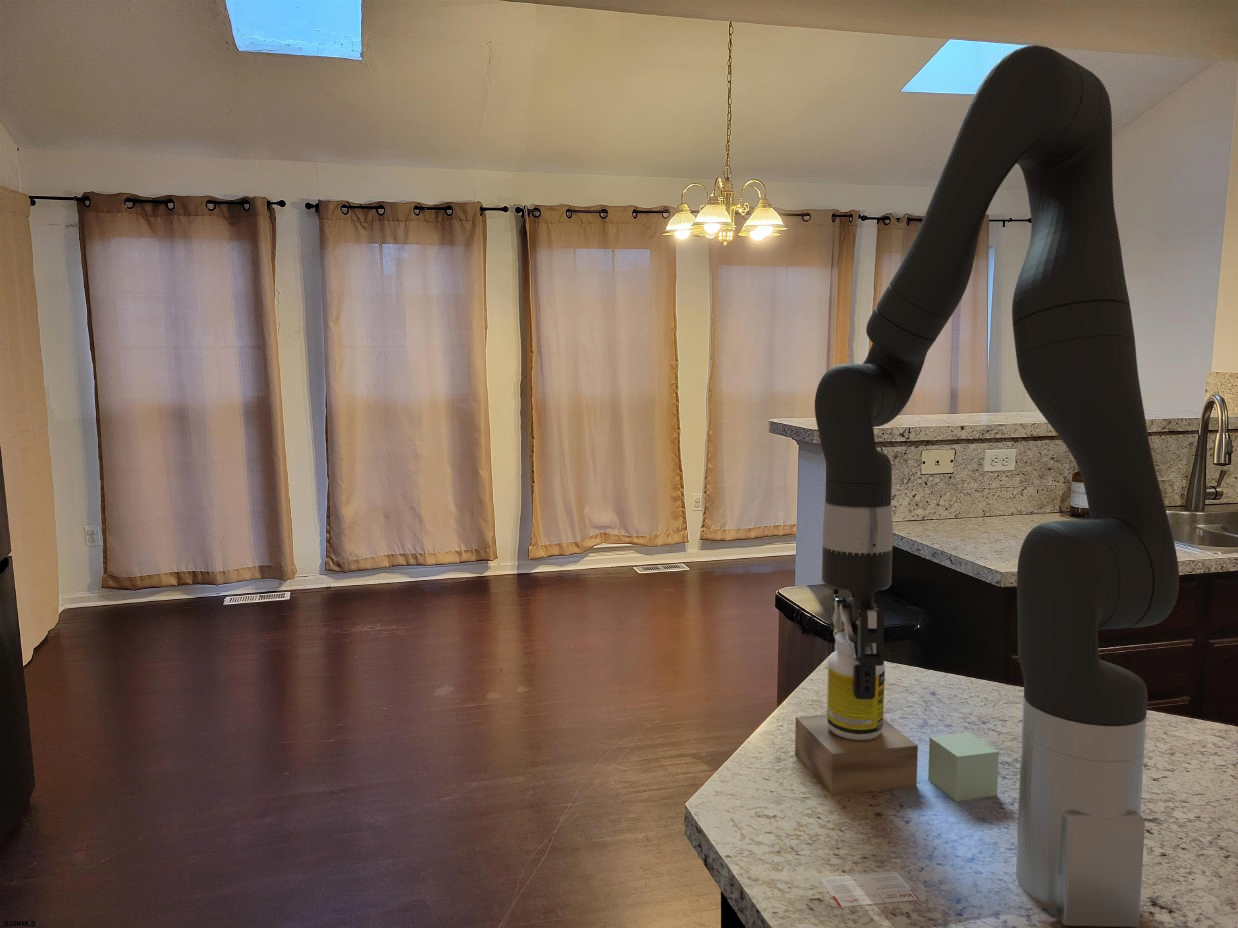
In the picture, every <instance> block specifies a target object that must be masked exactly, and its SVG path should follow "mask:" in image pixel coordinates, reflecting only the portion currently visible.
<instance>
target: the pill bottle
mask: <svg viewBox="0 0 1238 928" xmlns="http://www.w3.org/2000/svg"><path fill="white" fill-rule="evenodd" d="M834 640H835V642H834V643H835V650H834V652H832V653H831V654H830V656H829V657H828V661H827V689H826V690H827V692H826V693H827V694H826V697H827V698H826V714H827V725H828V727H829V729H830V730H831V731H832V732H833V733H834V734H836V735H838V736H840V737H843V738H847V739H851V740H869V739H873V738H875V737H877V736H878V735H879V734H880V733H881V732H882V729H883V718H884V710H885V709H884V708H885V707H884V705H885V704H884V703H885V701H884V700H885V680H886V678H885V676H886V673H885V672H886V667H885V666H886V665H885V662H884V663H883V666H876V680H875V697H874V698H873V699H857V698H856V697H855V696H854V694H853V671H854V662H853V654H852V648H851V646H849V645H847V643H846V637H845V631H842V632H839V633H838V634H837V635H836V639H835V638H834ZM865 654H870V648H869V646H867V645H865Z"/></svg>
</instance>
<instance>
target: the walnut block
mask: <svg viewBox="0 0 1238 928" xmlns="http://www.w3.org/2000/svg"><path fill="white" fill-rule="evenodd" d="M794 725H795V734H794V737H795V738H794V739H795V740H794V755H795V756H796V757H797V759H799V761H800V762H801V763H802V765H804V766H805V767H806V769H807V770H808V771H809V772H810V773H811V774H812V775H813V776H814V777H815V778H816V779H817V781H819V783H820V784H821V785H822V786H823V787H824V788H825V789H826V790H827V792H829V794H830V795H832V796H834V795H835V796H837V795H845V794H853V793H854V794H855V793H863V792H864V793H865V792H872V791H873V792H874V791H882V790H884V791H885V790H891V789H900V788H902V789H903V788H911V787H912V788H913V787H917V783H918V755H919V754H918V753H919V745H918V744H916V743H915V742H914V741H913V740H911V739H910V738H909V737H908V736H907V735H905V734H904V733H903V732H901V731H900V730H899V729H898V728H897V727H895V726H894V725H892V724H891V723H890V722H889V721H888V720H887V719H885V718H884V717H883V729H882V732H881V733H880V734H879V735H878V736H877V737H875V738H873V739H869V740H851V739H847V738H843V737H840V736H838V735H836V734H834V733H833V732H832V731H831V730H830V729H829V727H828V725H827V713H826V714H814V715H806V716H805V715H803V716H795V724H794Z"/></svg>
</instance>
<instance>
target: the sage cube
mask: <svg viewBox="0 0 1238 928" xmlns="http://www.w3.org/2000/svg"><path fill="white" fill-rule="evenodd" d="M928 747H929V748H928V749H929V750H928V771H927V772H928V773H927V775H928V778H927V780H928V781H930V782H931V783H932V784H933V785H935V786H936V787H937V788H939V789H940V790H941V791H942V792H944V793H945V794H946V795H947V796H949V797H950V798H951V799H953V800H954V801H956V802H959V801H967V800H968V801H969V800H974V799H982V798H990V797H997V796H998V783H999V782H998V781H999V779H998V778H999V760H1000V759H999V756H1000V754H999V753H1000V751H998V750H997V749H995V748H994V747H993V746H991V745H989V744H987V743H986V742H985V741H983V740H981V739H980V738H978V737H977V736H975V735H974V734H972V733H970V732H964V733H963V732H961V733H955V734H945V735H935V736H930V737H929V745H928Z"/></svg>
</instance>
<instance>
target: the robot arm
mask: <svg viewBox="0 0 1238 928" xmlns="http://www.w3.org/2000/svg"><path fill="white" fill-rule="evenodd" d="M947 157H948V158H947V160H946V163H945V165H944V167H943V169H942V172H941V173H940V177H939V178H938V182H937V184H936V187H935V189H934V192H933V194H932V197H931V200H930V202H929V204H928V206H927V209H926V212H925V213H924V216H923V218H922V221H921V222H920V225H919V228H918V230H917V232H916V234H915V236H914V239H913V240H912V242H911V244H910V246H909V248H908V251H907V252H906V254H905V256H904V258H903V260H902V261H901V264H900V265H899V267H898V269H897V271H896V272H895V274H894V275H893V277H892V279H891V281H890V282H889V284H888V286H887V287H886V289H885V290H884V292H883V293H882V296H881V297H880V299H879V301H878V303H877V304H876V306H875V308H874V309H873V311H872V313H871V315H870V317H869V319H868V321H867V323H866V329H865V332H866V335H867V338H868V339H869V341H870V342H871V346H870V348H869V351H868V354H867V355H866V358H865V360H864V362H863V363H842V364H839V365H838V364H837V365H835V366H833V367H831V368H830V369H828V371H826V372H825V373H824V374H823V375H822V377H821V379H820V381H819V383H818V385H817V389H816V392H815V396H814V414H815V415H814V416H815V421H816V426H817V431H818V435H819V439H820V446H821V450H822V453H823V458H824V459H825V461H824V462H825V464H826V476H825V477H826V480H825V481H826V483H825V509H824V515H823V521H822V522H823V523H822V563H821V564H822V566H821V567H822V568H821V570H822V571H821V573H822V574H821V579H822V582H823V583H824V584H825V585H826V586H828V587H830V588H831V599H830V622H829V626H830V629H831V630H833V632H832V635H833V637H834V640H835V639H836V635H837V634H838V633H839V632H842V631H845V637H846V643H847V645H849V646H851V648H852V654H853V662H854V671H853V694H854V696H855V697H856V698H857V699H873V698H874V697H875V680H876V666H883V663H884V664H885V657H884V655H885V653H884V652H885V650H884V649H885V647H884V645H885V612H884V610H883V608H882V609H881V608H878V604H876V603H875V598H874V594H875V593H876V592H878V591H884V590H887V589H889V588H890V586H891V585H892V578H893V577H892V575H893V542H894V541H893V536H894V523H893V520H894V519H893V514H892V487H893V485H892V483H893V469H892V468H893V467H892V462H891V459H890V457H889V455H887V454H885V452H882V451H879V450H878V449H877V444H876V438H875V433H874V431H875V430H874V428H878V427H883V426H885V425H887V424H889V423H890V422H892V421H893V420H894V419H895V418H897V417H898V416H899V415H900V413H901V412H902V411H903V410H904V408H905V407H906V406H907V404H908V402H909V401H910V398H911V397H912V394H913V392H914V390H915V389H916V385H917V382H918V380H919V377H920V375H921V373H922V369H923V367H924V364H925V361H926V360H925V359H926V356H927V355H928V352H929V350H930V349H931V347H932V346H933V344H935V342H936V340H937V339H938V337H939V335H940V334H941V332H942V331H943V330H944V328H945V326H946V324H947V323H948V321H949V320H950V318H951V317H952V316H953V314H954V313H955V311H956V309H957V308H958V306H959V304H960V302H961V300H962V299H963V295H965V291H966V289H967V287H968V284H969V281H970V279H971V276H972V275H971V274H972V270H973V267H974V262H975V258H976V252H977V247H978V243H979V237H980V235H981V234H980V233H981V229H982V227H983V223H984V220H985V219H986V218H985V217H986V216H987V212H988V211H989V208H990V205H991V202H992V201H993V199H994V197H995V195H996V194H997V192H998V190H999V188H1000V187H1001V185H1002V184H1003V183H1004V180H1006V178H1007V176H1008V175H1009V174H1010V172H1011V171H1012V169H1013V168H1014V167H1015V166H1016V164H1017V165H1018V166H1019V167H1020V170H1021V172H1022V175H1023V178H1024V182H1025V187H1026V191H1027V197H1028V203H1029V204H1028V205H1029V211H1030V221H1031V227H1030V228H1031V230H1030V239H1029V244H1028V249H1027V251H1026V254H1025V255H1026V256H1025V258H1024V261H1023V264H1022V266H1021V268H1020V272H1019V275H1018V278H1017V282H1016V284H1015V287H1014V291H1013V296H1012V305H1011V318H1012V320H1011V321H1012V331H1013V332H1012V333H1013V339H1014V349H1015V358H1016V364H1017V365H1016V366H1017V370H1018V375H1019V378H1020V381H1021V383H1022V386H1023V387H1024V389H1025V391H1026V393H1027V394H1028V397H1029V398H1030V399H1031V401H1032V403H1033V404H1034V405H1035V407H1036V408H1037V409H1038V411H1039V412H1040V414H1041V415H1042V416H1043V417H1044V419H1045V420H1046V421H1047V423H1048V424H1049V426H1051V428H1052V429H1053V430H1054V431H1055V433H1056V434H1057V436H1058V437H1059V438H1060V439H1061V441H1062V443H1063V444H1064V445H1065V446H1066V448H1067V449H1068V451H1069V453H1070V454H1071V456H1072V459H1073V460H1074V461H1075V463H1076V466H1077V468H1078V471H1079V473H1080V477H1081V479H1082V480H1081V481H1082V483H1083V487H1084V491H1085V494H1086V495H1085V496H1086V501H1087V506H1088V513H1089V519H1076V520H1075V519H1074V520H1073V519H1072V520H1069V519H1068V520H1054V521H1046V522H1042V523H1040V524H1038V525H1036V526H1034V527H1033V528H1032V529H1031V530H1030V531H1029V532H1028V533H1027V534H1026V537H1025V538H1024V539H1023V542H1022V545H1021V547H1020V550H1019V554H1018V560H1017V571H1016V595H1017V597H1016V599H1017V654H1018V658H1019V659H1018V660H1019V661H1018V662H1019V664H1020V669H1021V672H1022V677H1023V700H1022V701H1023V702H1022V703H1023V704H1022V727H1021V743H1020V762H1019V763H1020V767H1019V768H1020V769H1019V787H1018V788H1019V789H1018V790H1019V791H1018V811H1017V812H1018V813H1017V816H1018V817H1017V833H1016V834H1017V835H1016V836H1017V837H1016V839H1017V840H1016V864H1015V866H1016V868H1015V878H1016V880H1017V883H1018V885H1019V887H1021V889H1022V890H1023V891H1024V892H1025V893H1026V894H1027V895H1028V896H1029V897H1030V898H1032V899H1034V900H1035V901H1036V902H1038V903H1039V904H1041V905H1042V906H1045V907H1043V908H1041V909H1042V910H1043V911H1045V912H1047V913H1049V914H1051V915H1052V916H1055V917H1056V918H1057V919H1058V920H1059V921H1060V923H1062V925H1064V926H1068V927H1070V926H1071V927H1072V926H1073V927H1075V926H1077V927H1089V926H1090V927H1118V928H1119V927H1122V928H1123V927H1125V928H1129V927H1130V928H1132V927H1133V928H1138V927H1139V926H1140V916H1141V915H1140V914H1141V912H1140V911H1141V896H1142V882H1143V878H1142V877H1143V866H1144V865H1143V864H1144V863H1143V861H1144V850H1145V849H1144V846H1145V833H1146V832H1145V829H1146V820H1145V818H1144V817H1143V816H1142V814H1141V813H1142V812H1141V811H1142V790H1143V778H1144V777H1143V774H1144V773H1143V772H1144V760H1145V759H1144V756H1145V744H1146V743H1145V741H1146V726H1147V715H1148V713H1147V712H1148V688H1147V685H1146V684H1145V682H1144V680H1143V679H1142V678H1141V677H1140V676H1138V675H1137V674H1135V673H1134V672H1132V671H1130V670H1129V669H1126V668H1124V667H1122V666H1119V665H1116V664H1114V663H1111V662H1109V661H1105V660H1102V659H1100V658H1101V657H1100V652H1099V640H1098V637H1099V636H1098V634H1099V633H1098V631H1099V630H1101V631H1102V630H1116V629H1126V628H1128V629H1130V628H1131V629H1132V628H1144V627H1150V626H1151V627H1152V626H1155V625H1157V624H1159V623H1161V622H1163V621H1165V619H1166V618H1168V616H1169V615H1170V614H1171V613H1172V611H1173V609H1174V607H1175V606H1176V603H1177V599H1178V597H1179V596H1178V595H1179V591H1180V589H1179V587H1180V572H1179V571H1180V570H1179V561H1178V554H1177V549H1176V545H1175V539H1174V536H1173V532H1172V529H1171V525H1170V521H1169V515H1168V513H1167V507H1166V506H1165V501H1164V497H1163V493H1162V490H1161V486H1160V483H1159V479H1158V474H1157V470H1156V466H1155V463H1154V458H1153V454H1152V448H1151V444H1150V443H1151V442H1150V438H1149V433H1148V432H1149V431H1148V428H1147V421H1146V420H1147V419H1146V415H1145V414H1146V413H1145V408H1144V404H1143V403H1144V402H1143V397H1142V390H1141V385H1140V378H1139V369H1138V360H1137V359H1138V358H1137V347H1136V338H1135V329H1134V324H1133V318H1132V317H1133V316H1132V309H1131V302H1130V296H1129V293H1128V288H1127V286H1128V285H1127V281H1126V275H1125V269H1124V262H1123V261H1124V260H1123V255H1122V253H1123V252H1122V246H1121V245H1122V244H1121V241H1120V234H1119V228H1118V221H1117V217H1116V210H1115V201H1114V200H1115V199H1114V186H1113V185H1114V182H1113V181H1114V177H1113V175H1114V174H1113V118H1112V104H1111V100H1110V95H1109V93H1108V91H1107V88H1106V86H1105V84H1104V82H1103V81H1102V80H1101V79H1100V78H1099V77H1098V76H1097V75H1096V74H1095V73H1094V72H1092V71H1091V70H1090V69H1088V68H1086V67H1084V66H1082V65H1081V64H1079V63H1078V62H1076V61H1075V60H1072V59H1071V58H1069V57H1068V56H1065V55H1064V54H1062V53H1061V52H1060V51H1059V52H1058V51H1057V50H1054V49H1053V48H1050V47H1048V46H1044V45H1038V44H1035V45H1027V46H1023V47H1020V48H1017V49H1014V50H1013V51H1011V52H1009V53H1008V54H1006V55H1005V56H1003V57H1002V58H1001V59H1000V60H999V61H997V63H995V65H994V66H993V67H992V68H991V69H990V70H989V71H988V72H987V74H986V75H985V77H984V78H983V80H982V81H981V83H980V84H979V86H978V87H977V90H976V92H975V93H974V96H973V98H972V100H971V102H970V104H969V107H968V108H967V111H966V113H965V116H964V117H963V120H962V123H961V125H960V128H959V131H958V132H957V135H956V137H955V140H954V143H953V145H952V148H951V150H950V152H949V155H948V156H947ZM865 645H867V646H869V648H870V654H865Z"/></svg>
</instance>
